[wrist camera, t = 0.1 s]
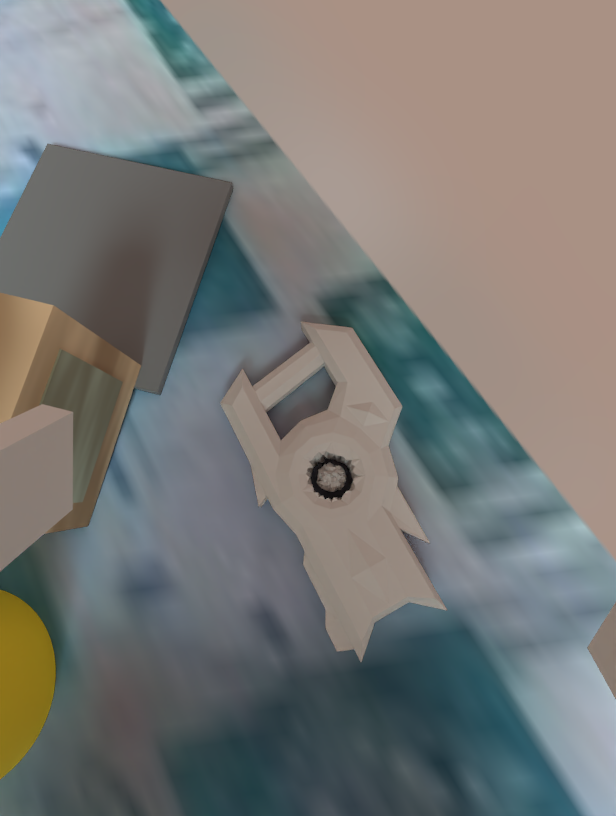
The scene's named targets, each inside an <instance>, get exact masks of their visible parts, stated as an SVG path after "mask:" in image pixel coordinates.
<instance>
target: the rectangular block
mask: <svg viewBox="0 0 616 816" xmlns="http://www.w3.org/2000/svg"><path fill="white" fill-rule="evenodd" d="M140 368H141V365H140V364H138V363H137V362H135V361H134V360H133V359H131V358H130V357H128V356H127V355H125V354H124V353H122V352H121V351H119V350H118V349H117V348H115V347H114V346H112V345H111V344H109V343H108V342H106V341H105V340H103V339H102V338H101V337H99V336H98V335H96V334H95V333H93V332H92V331H90V330H89V329H87V328H86V327H84V326H83V325H82V324H80V323H79V322H77V321H76V320H74V319H73V318H71V317H70V316H68V315H67V314H66V313H64V312H63V311H61V310H60V309H58V308H57V307H55V306H54V305H50V304H46V303H42V302H38V301H34V300H29V299H25V298H21V297H17V296H12V295H8V294H4V293H0V423H2V422H4V421H7V420H9V419H11V418H13V417H15V416H18V415H20V414H22V413H24V412H26V411H29V410H31V409H33V408H35V407H37V406H39V405H42V404H44V405H48V406H52V407H56V408H60V409H64V410H67V411H71V412H73V510H71V511H70V512H69V513H68V514H67V515H66V516H64V517H63V518H62V519H61V520H60V521H59V522H57V523H56V524H55V525H54V526H53V527H52V528H50V529H49V530H48V531H47V532H46V533H45V534H47V533H53V532H58V531H64V530H70V529H75V528H81V527H86V526H88V525H89V522H90V519H91V516H92V513H93V510H94V507H95V504H96V501H97V498H98V495H99V492H100V489H101V486H102V483H103V480H104V477H105V474H106V471H107V468H108V465H109V462H110V459H111V456H112V453H113V450H114V447H115V443H116V440H117V437H118V434H119V431H120V428H121V425H122V422H123V419H124V416H125V413H126V410H127V407H128V404H129V401H130V398H131V395H132V392H133V389H134V386H135V383H136V380H137V377H138V374H139V371H140Z"/></svg>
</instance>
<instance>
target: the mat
mask: <svg viewBox="0 0 616 816" xmlns="http://www.w3.org/2000/svg"><path fill="white" fill-rule="evenodd" d="M232 191H233V186H232V183H231V182H226V181H222V180H217V179H212V178H207V177H203V176H198V175H193V174H188V173H184V172H179V171H174V170H169V169H165V168H160V167H155V166H151V165H146V164H141V163H136V162H132V161H127V160H122V159H117V158H113V157H108V156H103V155H98V154H94V153H89V152H84V151H80V150H75V149H70V148H65V147H61V146H56V145H51V144H47V146H46V148H45V150H44V152H43V154H42V156H41V158H40V160H39V162H38V164H37V166H36V168H35V170H34V172H33V174H32V176H31V178H30V180H29V182H28V184H27V186H26V188H25V190H24V192H23V194H22V196H21V198H20V200H19V202H18V204H17V206H16V208H15V210H14V212H13V214H12V216H11V218H10V220H9V222H8V224H7V226H6V228H5V230H4V232H3V234H2V236H1V238H0V293H4V294H8V295H12V296H17V297H21V298H25V299H29V300H34V301H38V302H42V303H46V304H50V305H54V306H55V307H57V308H58V309H60V310H61V311H63V312H64V313H66V314H67V315H68V316H70V317H71V318H73V319H74V320H76V321H77V322H79V323H80V324H82V325H83V326H84V327H86V328H87V329H89V330H90V331H92V332H93V333H95V334H96V335H98V336H99V337H101V338H102V339H103V340H105V341H106V342H108V343H109V344H111V345H112V346H114V347H115V348H117V349H118V350H119V351H121V352H122V353H124V354H125V355H127V356H128V357H130V358H131V359H133V360H134V361H135V362H137V363H138V364H140V365H141V368H140V371H139V374H138V377H137V380H136V383H135V386H134V389H138V390H142V391H146V392H150V393H154V394H158V395H161V392H162V389H163V386H164V384H165V381H166V378H167V375H168V372H169V369H170V367H171V364H172V361H173V358H174V355H175V352H176V350H177V347H178V344H179V341H180V338H181V335H182V333H183V330H184V327H185V324H186V321H187V318H188V316H189V313H190V310H191V307H192V304H193V301H194V299H195V296H196V293H197V290H198V287H199V284H200V282H201V279H202V276H203V273H204V270H205V267H206V265H207V262H208V259H209V256H210V253H211V250H212V248H213V245H214V242H215V239H216V236H217V233H218V231H219V228H220V225H221V222H222V219H223V216H224V214H225V211H226V208H227V205H228V202H229V199H230V197H231V194H232Z"/></svg>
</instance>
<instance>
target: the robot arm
mask: <svg viewBox="0 0 616 816" xmlns="http://www.w3.org/2000/svg"><path fill="white" fill-rule="evenodd" d="M71 510H73V412H71V411H67V410H64V409H60V408H56V407H52V406H48V405H44V404H42V405H39V406H37V407H35V408H33V409H31V410H29V411H26V412H24V413H22V414H20V415H18V416H15V417H13V418H11V419H9V420H7V421H4V422H2V423H0V571H1V570H3V569H4V568H5V567H6V566H7V565H8V564H10V563H11V562H12V561H13V560H14V559H15V558H17V557H18V556H19V555H20V554H21V553H22V552H24V551H25V550H26V549H27V548H28V547H29V546H31V545H32V544H33V543H34V542H35V541H36V540H38V539H39V538H40V537H41V536H42V535H43V534H45V533H46V532H47V531H48V530H49V529H50V528H52V527H53V526H54V525H55V524H56V523H57V522H59V521H60V520H61V519H62V518H63V517H64V516H66V515H67V514H68V513H69V512H70V511H71ZM588 650H589V652H590V653H591V655H592V657H593V659H594V661H595V662H596V664H597V666H598V668H599V670H600V672H601V673H602V675H603V677H604V679H605V681H606V682H607V684H608V686H609V688H610V690H611V691H612V693H613V695H614V697H615V699H616V603H615V604H614V606H613V607H612V609H611V611H610V612H609V614H608V615H607V617H606V619H605V620H604V622H603V623H602V625H601V627H600V628H599V630H598V632H597V633H596V635H595V636H594V638H593V640H592V641H591V643H590V644H589V646H588Z"/></svg>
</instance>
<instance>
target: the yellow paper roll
mask: <svg viewBox="0 0 616 816" xmlns="http://www.w3.org/2000/svg"><path fill="white" fill-rule="evenodd" d="M55 679H56V664H55V655H54V650H53V646H52V642H51V639H50V636H49V634H48V631H47V629H46V627H45V625H44V623H43V622H42V620H41V619H40V617H39V616H38V615H37V613H36V612H35V611H34V610H33V609H32V608H31V607H30V606H29V605H28V604H27V603H25V602H24V601H23V600H21V599H20V598H18V597H17V596H15V595H13V594H11V593H9V592H6V591H3V590H0V779H1V778H2V777H4V776H5V775H6V774H7V773H8V772H10V771H11V770H12V769H13V768H14V767H15V766H16V765H17V764H18V763H19V762H20V761H21V759H22V758H23V757H24V756H25V755H26V753H27V752H28V751H29V749H30V748H31V747H32V745H33V744H34V742H35V740H36V739H37V737H38V735H39V734H40V732H41V730H42V728H43V726H44V723H45V721H46V719H47V716H48V713H49V710H50V707H51V703H52V699H53V695H54V689H55Z"/></svg>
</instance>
